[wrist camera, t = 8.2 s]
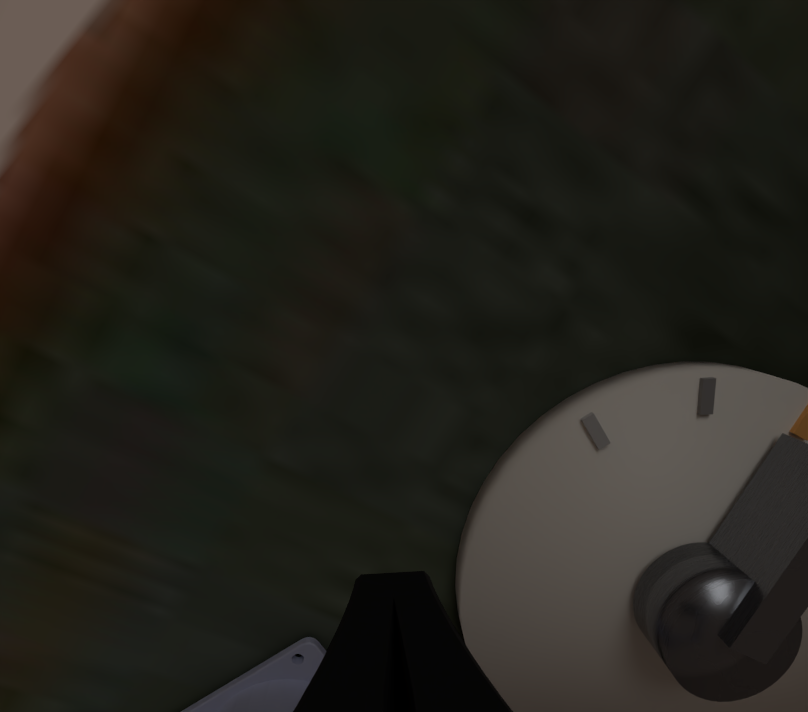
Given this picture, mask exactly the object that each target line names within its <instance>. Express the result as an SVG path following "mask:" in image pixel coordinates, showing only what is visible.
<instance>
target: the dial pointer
mask: <svg viewBox="0 0 808 712" xmlns="http://www.w3.org/2000/svg"><path fill="white" fill-rule="evenodd" d="M807 607H808V444H807V443H805V442H803V441H800V440H798V439H795V438H793V437H791V436H788V435H786V434H784V433H782V434H781V436H780V437H779V439H778V440H777V442H776V443H775V445H774V446H773V448H772V449H771V451H770V452H769V454H768V455H767V457H766V458H765V460H764V461H763V463H762V464H761V466H760V467H759V469H758V470H757V472H756V473H755V475H754V476H753V478H752V479H751V481H750V482H749V484H748V485H747V487H746V488H745V490H744V491H743V493H742V494H741V496H740V497H739V499H738V500H737V502H736V503H735V505H734V506H733V508H732V509H731V510H730V512H729V513H728V515H727V516H726V518H725V519H724V521H723V522H722V524H721V525H720V527H719V528H718V530H717V531H716V533H715V534H714V536H713V537H712V539H711V540H710V542H709V543H707V542H697V543H689V544H685V545H681V546H679V547H676V548H674V549H672V550H670V551H668V552H666V553H664V554H663V555H661V556H660V557H659V558H657V559H656V560H655V561H654V562H653V563H652V564H651V565H650V566H649V567H648V568H647V569H646V571H645V572H644V573H643V575H642V576H641V578H640V580H639V582H638V584H637V587H636V590H635V593H634V599H633V611H634V617H635V620H636V623H637V625H638V627H639V628H640V630H641V631H642V633H643V634H644V635H645V637H646V638H647V640H648V641H649V642H650V644H651V645H652V647H653V648H654V649H655V651H656V652H657V654H658V655H659V656H660V658H661V659H662V661H663V662H664V663H665V665H666V666H667V668H668V669H669V670H670V672H671V673H672V675H673V676H674V677H675V679H676V680H677V681H678V683H679V684H680V685H681V686H682V687H683V688H684V689H685V690H687V691H688V692H689V693H691V694H693V695H695V696H697V697H699V698H702V699H705V700H710V701H717V702H730V701H737V700H741V699H745V698H748V697H751V696H753V695H756V694H758V693H760V692H762V691H764V690H765V689H767V688H768V687H770V686H771V685H773V684H774V683H775V682H776V681H778V680H779V679H780V678H781V677H782V676H783V675H784V674H785V673H786V671H787V670H788V669H789V668H790V666H791V665H792V663H793V661H794V660H795V658H796V656H797V654H798V651H799V648H800V645H801V640H802V630H803V629H802V621H801V616H802V614H803V613H804V612H805V610H806V609H807Z"/></svg>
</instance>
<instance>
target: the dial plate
mask: <svg viewBox="0 0 808 712" xmlns="http://www.w3.org/2000/svg"><path fill="white" fill-rule="evenodd" d="M782 433H784V434H786V435H788V436H791V437H793V438H795V439H798V440H800V441H803V442H805V443H807V444H808V388H806V387H804V386H802V385H800V384H798V383H795V382H791V381H788V380H785V379H781V378H778V377H775V376H771V375H768V374H765V373H761V372H758V371H754V370H751V369H747V368H744V367H740V366H734V365H728V364H721V363H714V362H675V363H666V364H658V365H651V366H647V367H643V368H639V369H635V370H631V371H627V372H623V373H620V374H618V375H615V376H612V377H610V378H607V379H605V380H602V381H599V382H597V383H594V384H592V385H590V386H589V387H587V388H585V389H583V390H581V391H579V392H577V393H575V394H573V395H572V396H570V397H568V398H566V399H565V400H563V401H562V402H560V403H559V404H558V405H556V406H555V407H553V408H552V409H550V410H549V411H548V412H546V413H545V414H543V415H542V416H541V417H540V418H538V419H537V420H536V421H535V422H534V423H533V424H532V425H531V426H529V427H528V428H527V429H526V430H525V431H524V432H523V433H522V434H521V435H519V436H518V438H517V439H516V440H515V441H514V442H513V443H512V444H511V446H510V447H509V448H508V449H507V450H506V451H505V453H504V454H503V455H502V456H501V457H500V458H499V460H498V461H497V463H496V464H495V466H494V467H493V469H492V470H491V472H490V473H489V475H488V476H487V478H486V479H485V480H484V482H483V484H482V486H481V488H480V490H479V492H478V494H477V496H476V498H475V500H474V502H473V504H472V506H471V508H470V511H469V514H468V516H467V519H466V522H465V525H464V528H463V531H462V534H461V539H460V544H459V549H458V554H457V560H456V578H455V589H456V600H457V610H458V615H459V619H460V623H461V628H462V632H463V636H464V640H465V644H466V646H467V648H468V649H469V651H470V652H471V654H472V656H473V657H474V659H475V660H476V662H477V663H478V665H479V666H480V667H481V669H482V670H483V672H484V673H485V675H486V676H487V677H488V679H489V680H490V682H491V683H492V684H493V686H494V687H495V688H496V690H497V691H498V693H499V694H500V695H501V697H502V698H503V699H504V701H505V702H506V703H507V705H508V706H509V707H510V708H511V710H512V711H513V712H808V607H807V609H806V610H805V612H804V613H803V614H802V616H801V621H802V629H803V630H802V640H801V645H800V648H799V651H798V654H797V656H796V658H795V660H794V661H793V663H792V665H791V666H790V668H789V669H788V670H787V671H786V673H785V674H784V675H783V676H782V677H781V678H780V679H779V680H778V681H776V682H775V683H774V684H773V685H771V686H770V687H768V688H767V689H765V690H764V691H762V692H760V693H758V694H756V695H753V696H751V697H748V698H745V699H741V700H737V701H730V702H717V701H710V700H705V699H702V698H699V697H697V696H695V695H693V694H691V693H689V692H688V691H687V690H685V689H684V688H683V687H682V686H681V685H680V684H679V683H678V681H677V680H676V679H675V677H674V676H673V675H672V673H671V672H670V670H669V669H668V668H667V666H666V665H665V663H664V662H663V661H662V659H661V658H660V656H659V655H658V654H657V652H656V651H655V649H654V648H653V647H652V645H651V644H650V642H649V641H648V640H647V638H646V637H645V635H644V634H643V633H642V631H641V630H640V628H639V627H638V625H637V623H636V620H635V617H634V611H633V599H634V593H635V590H636V587H637V584H638V582H639V580H640V578H641V576H642V575H643V573H644V572H645V571H646V569H647V568H648V567H649V566H650V565H651V564H652V563H653V562H654V561H655V560H656V559H657V558H659V557H660V556H661V555H663V554H664V553H666V552H668V551H670V550H672V549H674V548H676V547H679V546H681V545H685V544H689V543H697V542H707V543H709V542H710V540H711V539H712V537H713V536H714V534H715V533H716V531H717V530H718V528H719V527H720V525H721V524H722V522H723V521H724V519H725V518H726V516H727V515H728V513H729V512H730V510H731V509H732V508H733V506H734V505H735V503H736V502H737V500H738V499H739V497H740V496H741V494H742V493H743V491H744V490H745V488H746V487H747V485H748V484H749V482H750V481H751V479H752V478H753V476H754V475H755V473H756V472H757V470H758V469H759V467H760V466H761V464H762V463H763V461H764V460H765V458H766V457H767V455H768V454H769V452H770V451H771V449H772V448H773V446H774V445H775V443H776V442H777V440H778V439H779V437H780V436H781V434H782Z"/></svg>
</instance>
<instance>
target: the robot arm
mask: <svg viewBox="0 0 808 712" xmlns="http://www.w3.org/2000/svg"><path fill="white" fill-rule="evenodd" d="M295 654H301V655H302V657H296V656H295ZM181 712H513V711H512V710H511V708H510V707H509V706H508V705H507V703H506V702H505V701H504V699H503V698H502V697H501V695H500V694H499V693H498V691H497V690H496V688H495V687H494V686H493V684H492V683H491V682H490V680H489V679H488V677H487V676H486V675H485V673H484V672H483V670H482V669H481V667H480V666H479V665H478V663H477V662H476V660H475V659H474V657H473V656H472V654H471V652H470V651H469V649H468V648H467V646H466V645H465V643H464V641H463V640H462V638H461V637H460V635H459V634H458V632H457V630H456V629H455V627H454V625H453V624H452V622H451V620H450V618H449V616H448V615H447V613H446V611H445V609H444V607H443V606H442V604H441V602H440V600H439V598H438V596H437V594H436V592H435V589H434V587H433V585H432V582H431V580H430V577H429V576H428V575H427V574H426V573H425V572H424V571H417V572H399V573H382V574H364V575H360V576H359V577H358V578H357V579H356V581H355V585H354V588H353V591H352V594H351V597H350V600H349V603H348V605H347V608H346V610H345V613H344V615H343V617H342V620H341V622H340V624H339V627H338V629H337V631H336V633H335V635H334V637H333V639H332V641H331V643H330V645H329V647H328V649H327V651H326V650H325V649H324V648H323V646H322V645H321V644H320V643H319V641H317V640H316V639H315V638H312V637H306V638H303V639H301V640H299V641H298V642H296V643H294V644H293V645H291V646H289V647H288V648H286V649H284V650H283V651H281V652H279V653H278V654H276V655H274V656H273V657H271V658H269V659H268V660H266V661H264V662H263V663H261V664H259V665H258V666H256V667H254V668H253V669H251V670H249V671H248V672H246V673H244V674H243V675H241V676H239V677H238V678H236V679H234V680H233V681H231V682H229V683H228V684H226V685H224V686H223V687H221V688H219V689H218V690H216V691H214V692H213V693H211V694H209V695H208V696H206V697H204V698H203V699H201V700H199V701H198V702H196V703H194V704H193V705H191V706H189V707H188V708H186V709H184V710H183V711H181Z"/></svg>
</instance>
